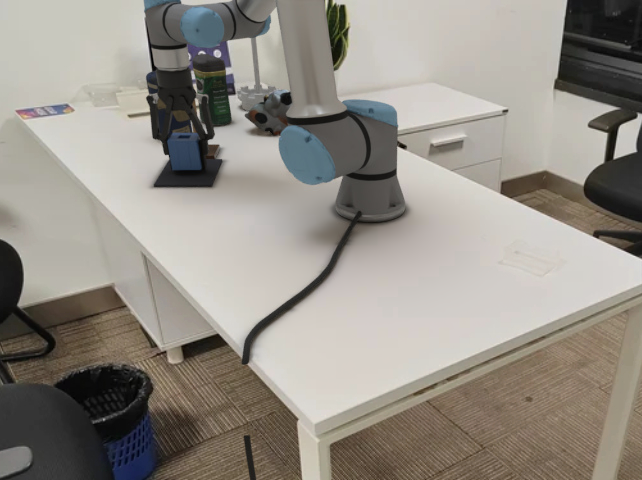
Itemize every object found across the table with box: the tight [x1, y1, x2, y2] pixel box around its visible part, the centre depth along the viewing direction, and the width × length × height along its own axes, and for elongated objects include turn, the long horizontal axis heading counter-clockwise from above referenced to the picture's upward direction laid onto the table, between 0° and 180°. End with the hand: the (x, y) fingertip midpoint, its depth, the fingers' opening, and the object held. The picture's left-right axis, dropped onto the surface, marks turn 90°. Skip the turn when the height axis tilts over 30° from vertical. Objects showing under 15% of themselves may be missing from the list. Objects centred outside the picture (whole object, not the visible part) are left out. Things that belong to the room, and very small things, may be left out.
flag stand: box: [236, 37, 280, 112], centre depth 210 cm, size 13×13×30 cm
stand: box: [191, 99, 221, 159], centre depth 175 cm, size 9×9×16 cm
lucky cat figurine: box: [244, 88, 292, 136], centre depth 196 cm, size 15×12×14 cm
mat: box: [153, 158, 223, 188], centre depth 167 cm, size 18×13×1 cm
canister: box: [145, 70, 193, 139], centre depth 185 cm, size 10×10×18 cm
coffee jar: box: [192, 53, 233, 126], centre depth 198 cm, size 10×8×19 cm
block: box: [167, 133, 202, 170], centre depth 164 cm, size 6×6×7 cm
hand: (189, 167), depth 166 cm, fingers closed on block, 6 cm apart
